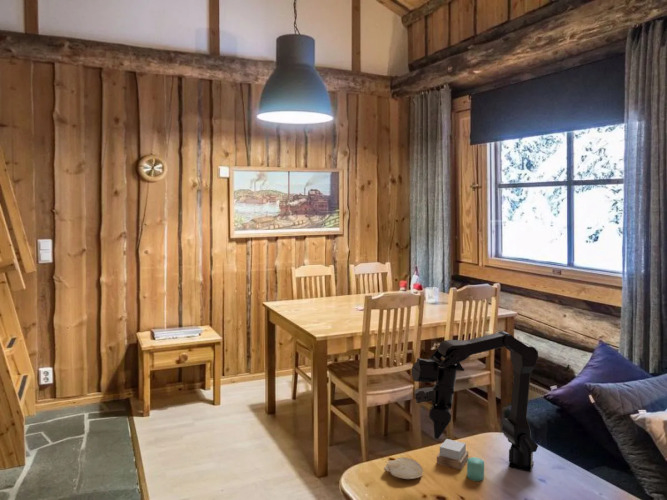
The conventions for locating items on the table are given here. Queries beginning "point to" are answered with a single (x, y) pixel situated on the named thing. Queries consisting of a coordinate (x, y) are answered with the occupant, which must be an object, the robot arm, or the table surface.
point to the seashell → (404, 468)
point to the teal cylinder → (475, 469)
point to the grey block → (452, 449)
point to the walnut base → (452, 461)
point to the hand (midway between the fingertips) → (437, 432)
